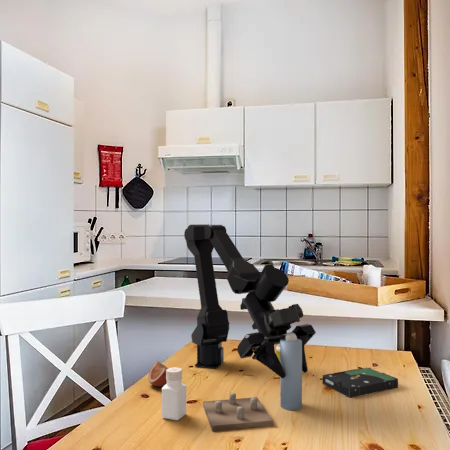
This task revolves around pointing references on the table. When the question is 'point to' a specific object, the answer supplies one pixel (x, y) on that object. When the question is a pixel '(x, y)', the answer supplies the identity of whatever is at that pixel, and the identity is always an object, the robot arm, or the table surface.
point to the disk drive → (359, 382)
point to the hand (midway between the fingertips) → (295, 374)
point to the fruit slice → (158, 374)
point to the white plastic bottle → (174, 395)
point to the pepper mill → (291, 372)
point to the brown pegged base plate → (236, 413)
